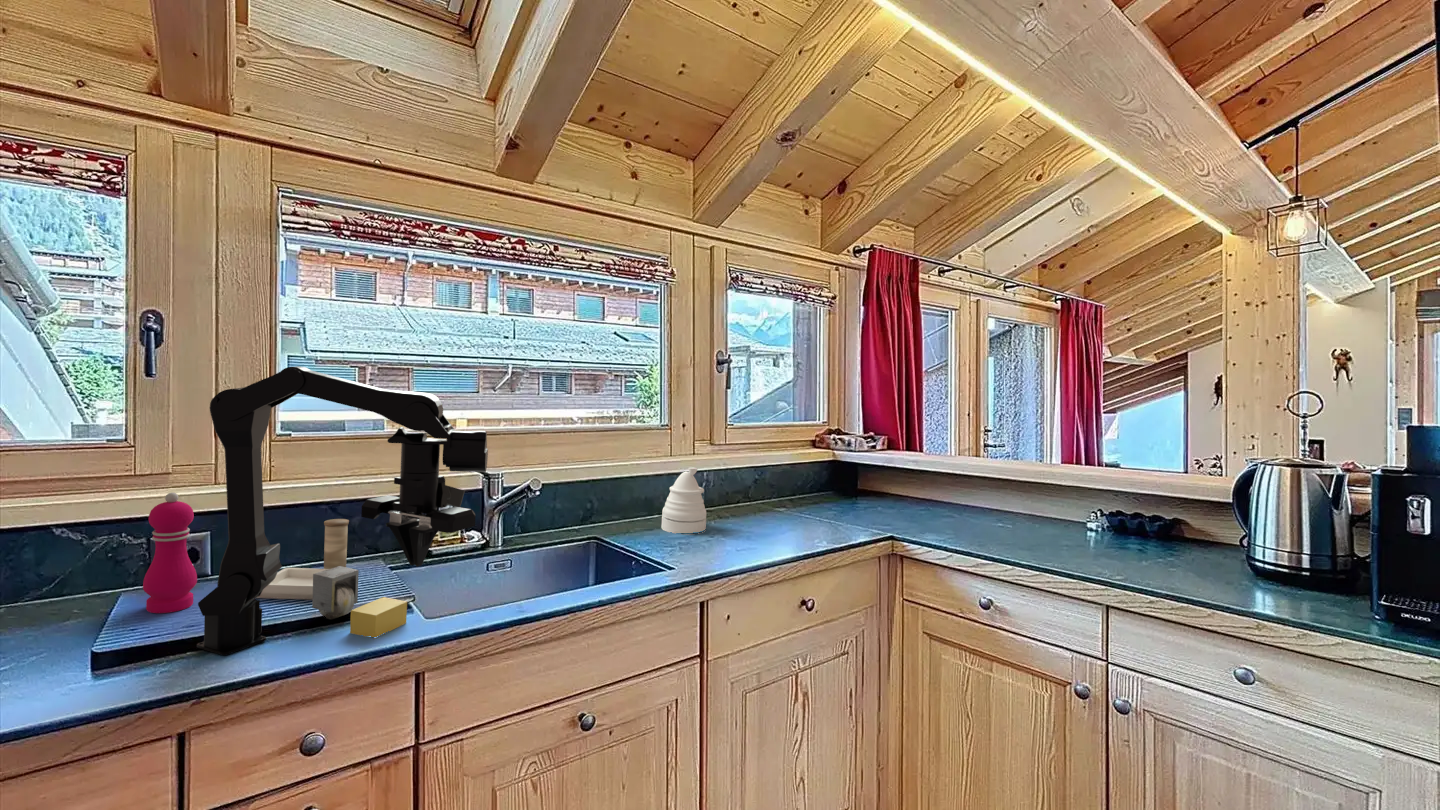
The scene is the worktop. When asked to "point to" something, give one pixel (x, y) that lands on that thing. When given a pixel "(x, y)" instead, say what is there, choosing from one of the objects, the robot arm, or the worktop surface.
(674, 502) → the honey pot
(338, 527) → the pin
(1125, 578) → the worktop surface
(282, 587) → the tray
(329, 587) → the wheel bracket
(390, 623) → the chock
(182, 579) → the pepper mill
